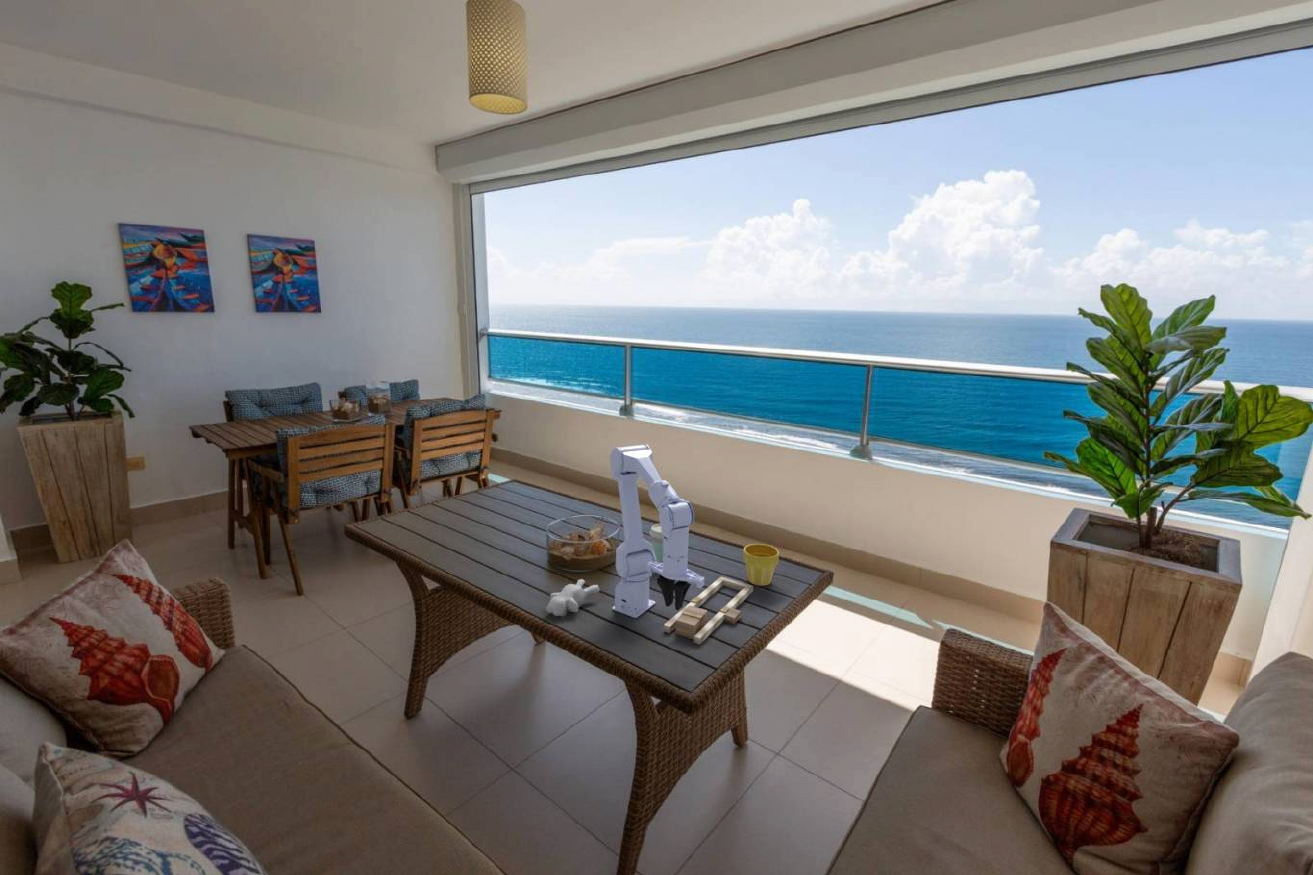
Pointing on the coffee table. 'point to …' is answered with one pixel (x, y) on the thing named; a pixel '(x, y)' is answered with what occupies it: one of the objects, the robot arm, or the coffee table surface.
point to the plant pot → (760, 563)
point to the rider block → (691, 621)
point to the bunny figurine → (569, 598)
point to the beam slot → (726, 612)
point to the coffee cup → (657, 542)
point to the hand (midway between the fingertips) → (674, 606)
